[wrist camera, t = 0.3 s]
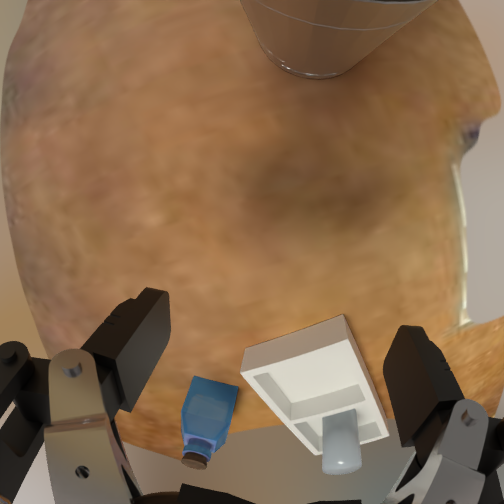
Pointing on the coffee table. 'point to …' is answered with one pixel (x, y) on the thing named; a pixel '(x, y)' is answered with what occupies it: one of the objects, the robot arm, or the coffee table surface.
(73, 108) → the coffee table surface
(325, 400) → the tray
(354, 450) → the grey rounded cylinder
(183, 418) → the perfume bottle
